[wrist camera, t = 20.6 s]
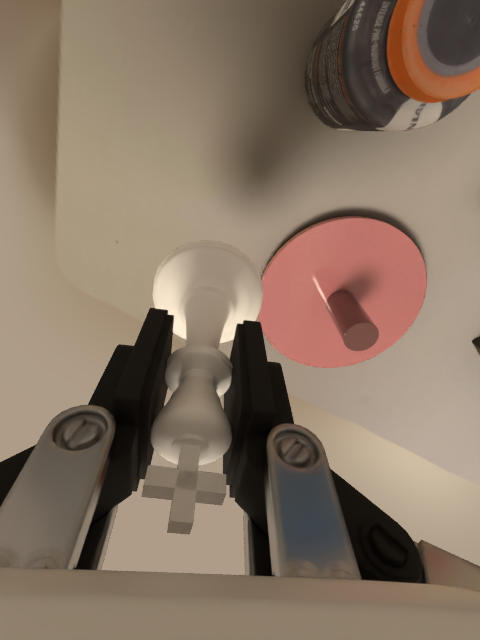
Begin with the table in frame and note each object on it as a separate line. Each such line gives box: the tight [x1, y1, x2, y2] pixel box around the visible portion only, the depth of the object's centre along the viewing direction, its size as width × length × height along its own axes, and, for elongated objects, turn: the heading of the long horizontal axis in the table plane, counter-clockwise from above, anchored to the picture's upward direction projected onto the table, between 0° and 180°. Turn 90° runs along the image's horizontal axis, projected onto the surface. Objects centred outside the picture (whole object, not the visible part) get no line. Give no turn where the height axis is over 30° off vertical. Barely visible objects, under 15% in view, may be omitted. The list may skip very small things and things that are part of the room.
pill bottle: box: [305, 0, 480, 131], centre depth 15 cm, size 6×6×11 cm
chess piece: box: [142, 240, 263, 534], centre depth 10 cm, size 5×5×10 cm
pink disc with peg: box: [258, 216, 427, 368], centre depth 25 cm, size 14×14×6 cm
